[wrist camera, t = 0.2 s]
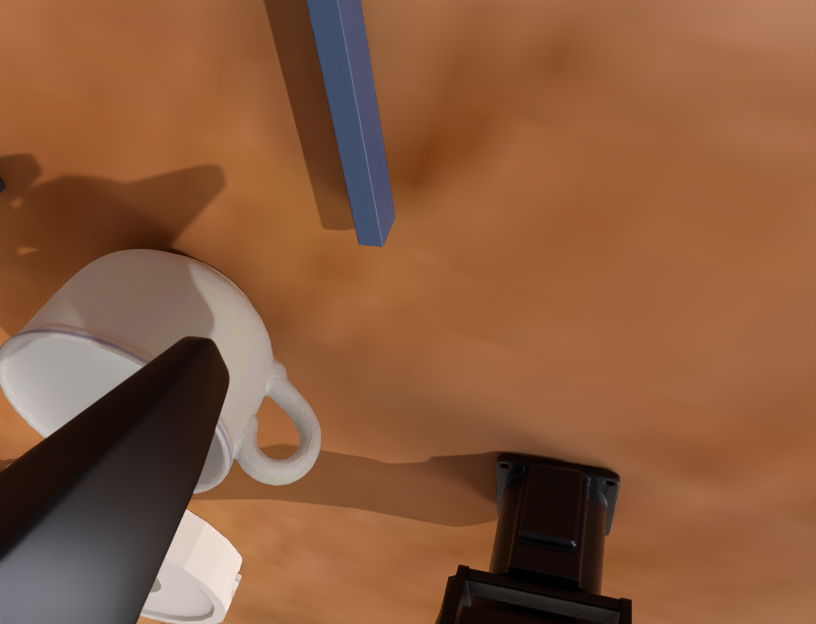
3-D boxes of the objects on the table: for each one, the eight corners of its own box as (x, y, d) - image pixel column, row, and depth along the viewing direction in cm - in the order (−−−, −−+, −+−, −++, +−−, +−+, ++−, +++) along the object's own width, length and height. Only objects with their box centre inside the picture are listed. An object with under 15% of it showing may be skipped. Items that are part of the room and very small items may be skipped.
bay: (395, 217, 27) (383, 247, 26) (-11, 186, 32) (-37, 210, 31) (325, -223, 17) (300, -207, 16) (-247, -167, 22) (-299, -152, 21)
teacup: (84, 304, 38) (-11, 424, 32) (105, 171, 29) (-17, 303, 24) (311, 416, 40) (257, 545, 35) (388, 322, 32) (332, 471, 27)
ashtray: (97, 442, 51) (66, 490, 48) (294, 585, 63) (278, 630, 60) (-41, 471, 63) (-72, 510, 61) (144, 585, 75) (125, 622, 73)
